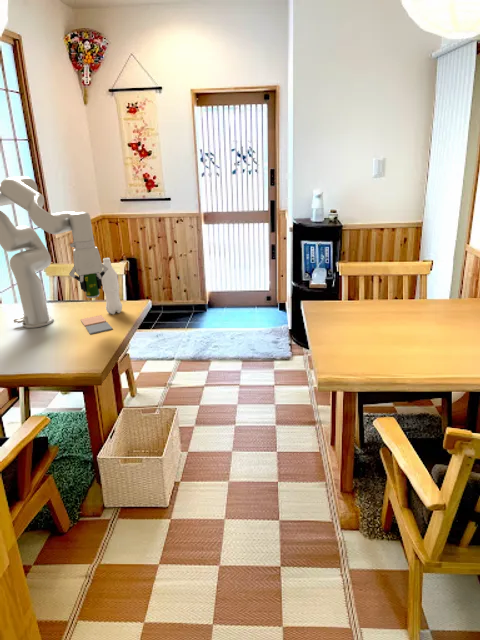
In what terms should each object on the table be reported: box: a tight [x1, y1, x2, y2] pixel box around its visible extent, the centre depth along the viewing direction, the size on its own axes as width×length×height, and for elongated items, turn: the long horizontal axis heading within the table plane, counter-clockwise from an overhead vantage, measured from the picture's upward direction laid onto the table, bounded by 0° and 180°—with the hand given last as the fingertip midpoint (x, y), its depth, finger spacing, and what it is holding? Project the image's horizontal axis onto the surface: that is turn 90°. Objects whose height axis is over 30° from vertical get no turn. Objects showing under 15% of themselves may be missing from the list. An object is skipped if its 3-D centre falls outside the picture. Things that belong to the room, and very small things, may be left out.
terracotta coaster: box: [80, 314, 107, 327], centre depth 201 cm, size 9×9×1 cm
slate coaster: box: [85, 321, 114, 335], centre depth 192 cm, size 9×9×1 cm
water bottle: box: [101, 257, 123, 315], centre depth 207 cm, size 7×7×25 cm
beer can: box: [83, 273, 100, 299], centre depth 185 cm, size 5×5×12 cm
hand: (91, 289), depth 186 cm, fingers closed on beer can, 5 cm apart
